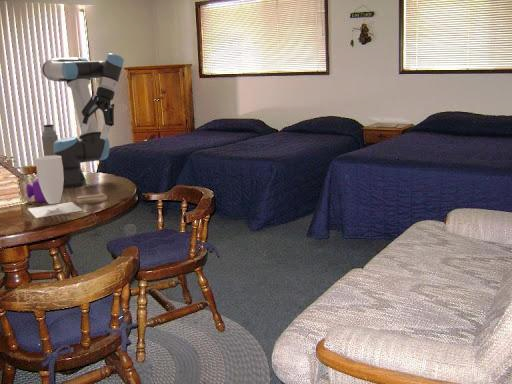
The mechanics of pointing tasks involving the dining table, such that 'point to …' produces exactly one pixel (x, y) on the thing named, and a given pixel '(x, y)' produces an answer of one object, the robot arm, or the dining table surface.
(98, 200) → the coaster
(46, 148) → the thermos bottle
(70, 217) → the dining table surface
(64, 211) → the board
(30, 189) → the toy camera
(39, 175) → the cup
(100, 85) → the robot arm
